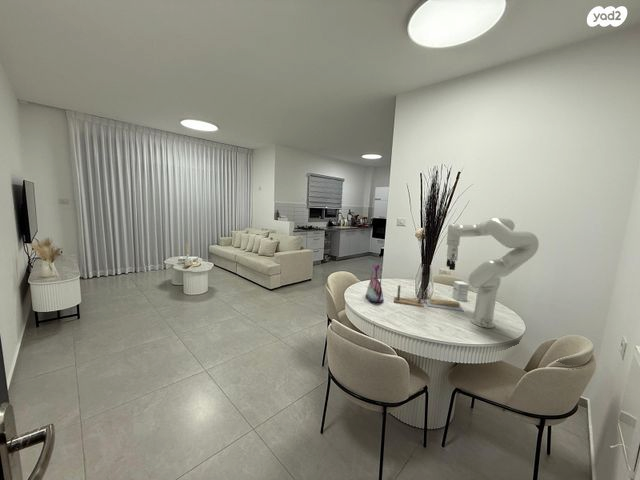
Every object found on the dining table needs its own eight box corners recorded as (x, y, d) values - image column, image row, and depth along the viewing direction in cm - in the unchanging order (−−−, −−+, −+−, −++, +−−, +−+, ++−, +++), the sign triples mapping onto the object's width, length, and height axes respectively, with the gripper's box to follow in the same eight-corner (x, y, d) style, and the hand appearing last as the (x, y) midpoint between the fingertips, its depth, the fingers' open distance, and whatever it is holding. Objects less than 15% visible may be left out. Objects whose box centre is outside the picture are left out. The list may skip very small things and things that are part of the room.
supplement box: (451, 297, 200) (453, 280, 198) (461, 297, 200) (463, 281, 198) (456, 300, 193) (458, 283, 191) (467, 301, 193) (469, 284, 191)
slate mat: (463, 311, 173) (463, 310, 173) (427, 306, 179) (427, 305, 179) (459, 305, 185) (460, 304, 185) (425, 300, 191) (426, 299, 191)
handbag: (363, 294, 198) (365, 261, 195) (376, 294, 200) (378, 261, 196) (372, 305, 177) (375, 268, 174) (386, 305, 179) (389, 268, 175)
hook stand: (423, 306, 178) (425, 292, 177) (394, 302, 184) (395, 288, 182) (422, 301, 188) (424, 287, 186) (394, 297, 193) (395, 284, 192)
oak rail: (459, 307, 178) (459, 303, 177) (430, 303, 183) (430, 299, 182) (458, 306, 181) (458, 301, 180) (429, 302, 186) (430, 298, 185)
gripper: (462, 245, 167) (459, 271, 170) (456, 241, 184) (453, 265, 186) (449, 244, 169) (446, 270, 172) (444, 240, 186) (442, 264, 188)
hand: (450, 268), depth 179 cm, fingers open, 9 cm apart
